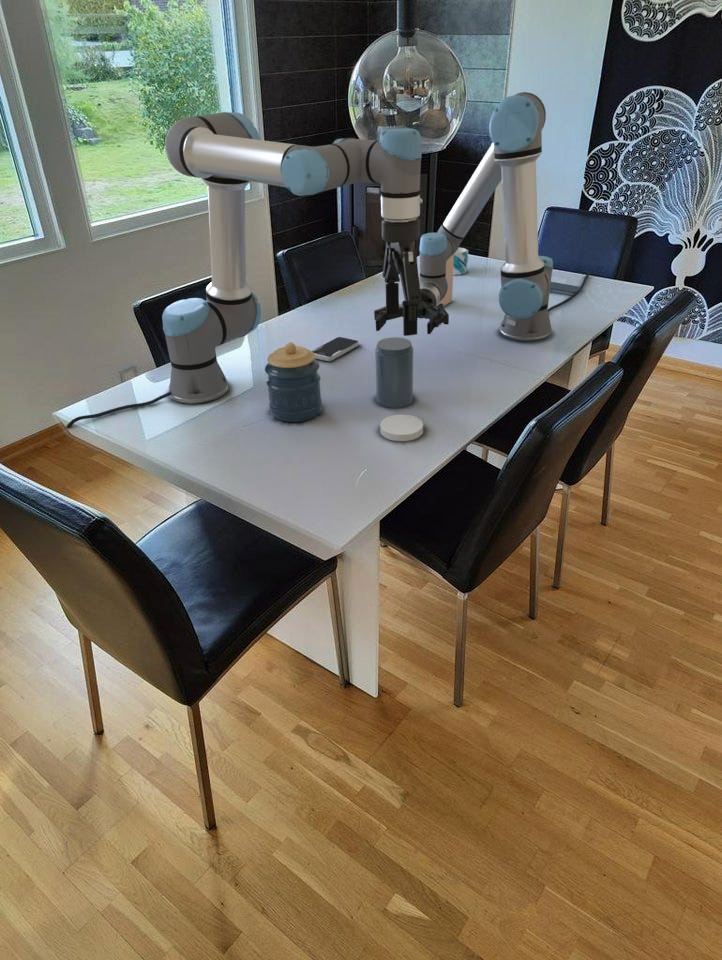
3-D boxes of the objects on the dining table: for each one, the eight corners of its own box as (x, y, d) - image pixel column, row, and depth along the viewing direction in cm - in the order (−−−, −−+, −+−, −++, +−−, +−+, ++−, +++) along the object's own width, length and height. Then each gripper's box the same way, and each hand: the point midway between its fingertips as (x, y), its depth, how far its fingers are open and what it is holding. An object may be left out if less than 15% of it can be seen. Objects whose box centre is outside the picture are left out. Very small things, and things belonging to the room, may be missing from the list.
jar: (370, 404, 168) (368, 347, 160) (385, 389, 175) (384, 334, 167) (404, 410, 165) (404, 353, 156) (418, 395, 171) (419, 339, 163)
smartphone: (359, 341, 201) (329, 357, 190) (359, 345, 201) (329, 362, 191) (338, 336, 204) (308, 352, 194) (339, 340, 205) (308, 357, 195)
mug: (441, 273, 261) (442, 251, 257) (455, 265, 270) (456, 243, 265) (461, 275, 257) (462, 253, 253) (474, 267, 266) (475, 246, 261)
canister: (275, 426, 159) (266, 357, 150) (266, 403, 170) (257, 337, 160) (328, 418, 162) (323, 349, 153) (316, 396, 173) (310, 330, 163)
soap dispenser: (441, 308, 227) (443, 241, 215) (418, 304, 231) (419, 238, 219) (457, 297, 236) (460, 232, 224) (435, 294, 240) (437, 230, 228)
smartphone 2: (575, 292, 232) (534, 285, 238) (574, 297, 233) (533, 289, 239) (582, 286, 237) (541, 279, 244) (581, 291, 238) (541, 284, 245)
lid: (376, 439, 153) (375, 432, 152) (385, 419, 161) (385, 412, 160) (418, 443, 151) (418, 436, 150) (426, 423, 159) (426, 416, 158)
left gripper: (440, 230, 121) (436, 342, 132) (401, 204, 141) (401, 303, 153) (399, 234, 120) (400, 346, 131) (366, 207, 140) (369, 307, 152)
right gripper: (467, 316, 185) (450, 344, 168) (381, 312, 193) (357, 338, 176) (468, 289, 181) (451, 315, 164) (380, 286, 189) (355, 310, 172)
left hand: (400, 323), depth 142 cm, fingers open, 13 cm apart
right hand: (402, 327), depth 170 cm, fingers open, 13 cm apart
